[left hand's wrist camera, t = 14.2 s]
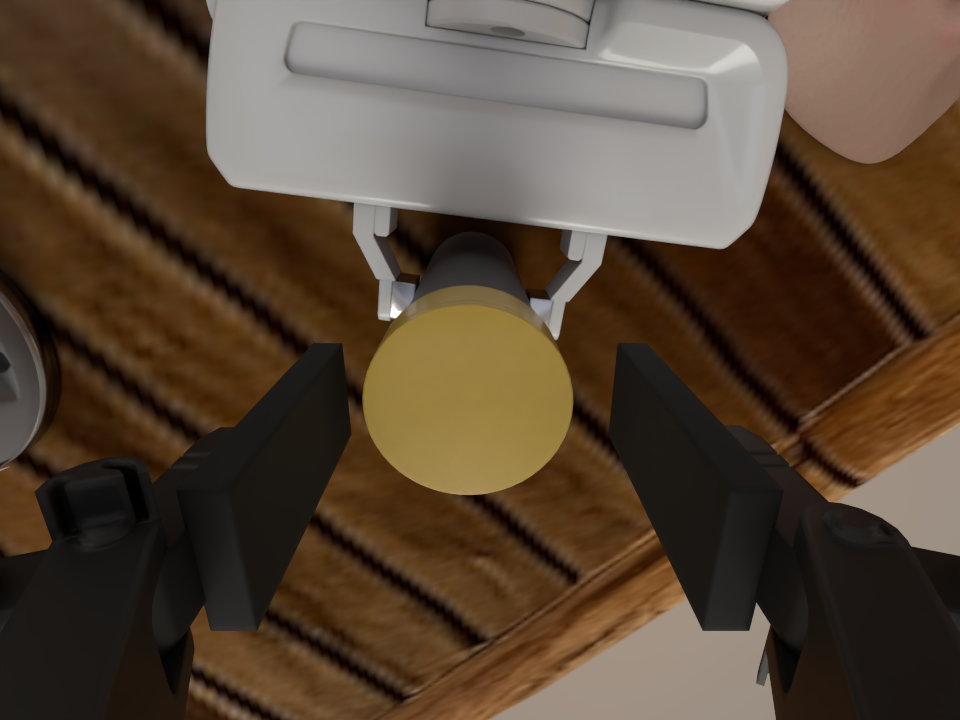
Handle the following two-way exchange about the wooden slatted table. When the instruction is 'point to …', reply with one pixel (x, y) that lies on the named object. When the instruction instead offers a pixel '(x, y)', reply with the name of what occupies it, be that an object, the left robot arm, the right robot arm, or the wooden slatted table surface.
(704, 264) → the wooden slatted table surface
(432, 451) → the lid
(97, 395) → the wooden slatted table surface
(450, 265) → the dark grey bottle
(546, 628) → the wooden slatted table surface
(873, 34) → the anatomical model
